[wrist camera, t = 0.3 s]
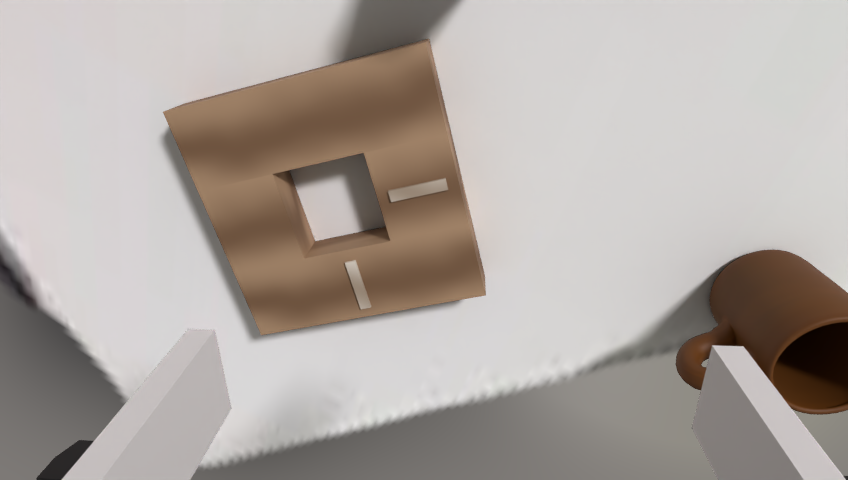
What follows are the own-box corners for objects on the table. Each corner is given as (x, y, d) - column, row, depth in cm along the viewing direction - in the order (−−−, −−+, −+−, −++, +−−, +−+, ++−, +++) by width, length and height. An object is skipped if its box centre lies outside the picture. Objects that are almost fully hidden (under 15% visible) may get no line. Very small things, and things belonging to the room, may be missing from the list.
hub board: (184, 103, 39) (161, 112, 36) (429, 38, 35) (425, 42, 33) (273, 314, 45) (260, 336, 43) (484, 275, 42) (485, 296, 39)
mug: (655, 354, 44) (699, 440, 36) (639, 275, 41) (682, 349, 33) (815, 319, 42) (903, 403, 33) (809, 233, 39) (904, 301, 30)
